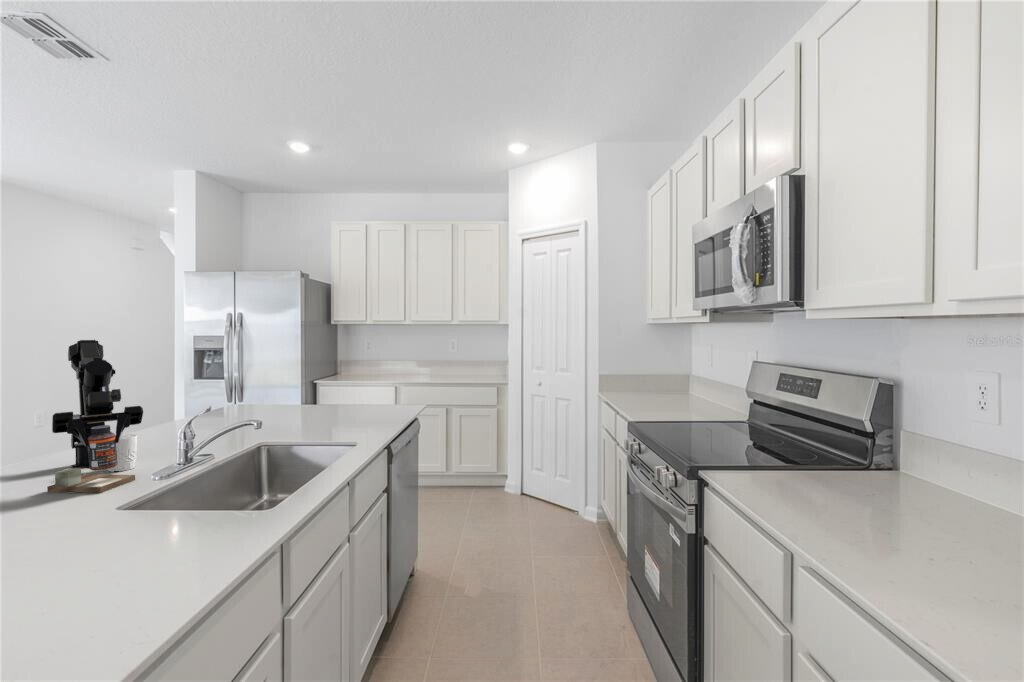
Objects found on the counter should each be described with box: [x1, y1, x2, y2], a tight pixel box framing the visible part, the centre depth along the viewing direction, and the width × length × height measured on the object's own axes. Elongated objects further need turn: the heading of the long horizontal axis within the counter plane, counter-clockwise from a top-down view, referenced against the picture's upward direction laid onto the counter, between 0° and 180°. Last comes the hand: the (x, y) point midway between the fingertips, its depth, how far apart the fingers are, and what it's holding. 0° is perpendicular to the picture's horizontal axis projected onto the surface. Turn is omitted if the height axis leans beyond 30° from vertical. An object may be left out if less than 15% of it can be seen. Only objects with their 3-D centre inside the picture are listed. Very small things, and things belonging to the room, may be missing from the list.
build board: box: [46, 467, 136, 494], centre depth 130 cm, size 14×11×5 cm
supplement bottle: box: [87, 424, 118, 472], centre depth 128 cm, size 6×6×11 cm
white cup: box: [106, 433, 139, 473], centre depth 146 cm, size 8×8×10 cm
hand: (102, 443), depth 127 cm, fingers closed on supplement bottle, 6 cm apart
